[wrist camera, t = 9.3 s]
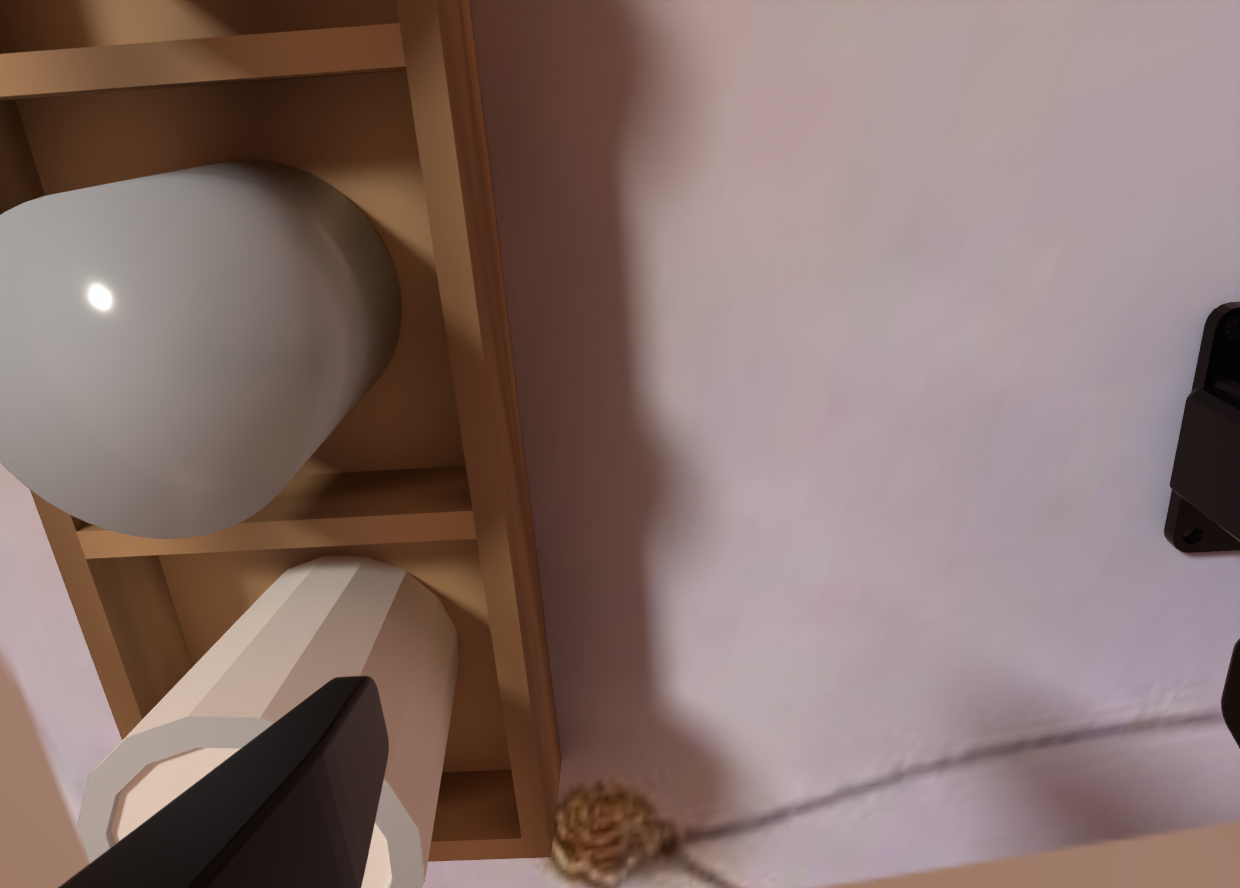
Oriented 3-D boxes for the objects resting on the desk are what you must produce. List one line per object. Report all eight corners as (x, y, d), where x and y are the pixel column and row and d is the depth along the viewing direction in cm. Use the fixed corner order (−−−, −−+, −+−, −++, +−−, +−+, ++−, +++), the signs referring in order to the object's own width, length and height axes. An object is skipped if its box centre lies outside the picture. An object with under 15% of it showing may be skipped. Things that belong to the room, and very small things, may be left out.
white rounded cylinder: (377, 149, 18) (266, 178, 13) (420, 411, 21) (342, 530, 15) (105, 168, 19) (-117, 205, 13) (178, 425, 21) (14, 547, 16)
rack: (397, -596, 15) (330, -787, 12) (561, 761, 26) (550, 857, 23) (-185, -533, 15) (-408, -699, 12) (226, 774, 27) (170, 870, 23)
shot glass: (532, 675, 24) (493, 897, 17) (342, 779, 25) (242, 1017, 19) (373, 487, 22) (260, 659, 15) (176, 612, 23) (-2, 817, 17)
